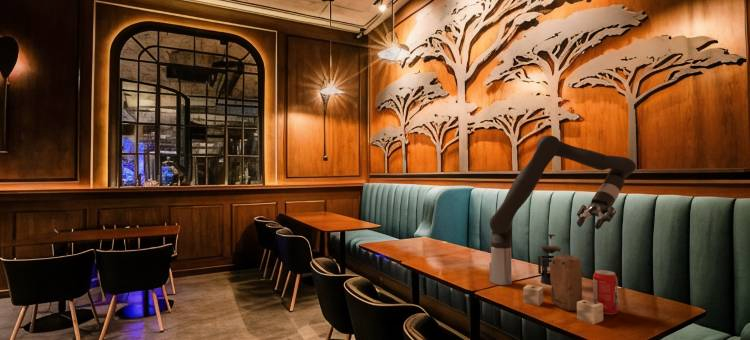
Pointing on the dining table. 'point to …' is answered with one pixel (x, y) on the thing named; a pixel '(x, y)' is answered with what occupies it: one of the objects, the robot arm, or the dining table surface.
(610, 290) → the soda can
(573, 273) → the block
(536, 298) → the dotted cube one
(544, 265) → the french press
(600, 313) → the dotted cube two
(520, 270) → the dining table surface
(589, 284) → the dining table surface
